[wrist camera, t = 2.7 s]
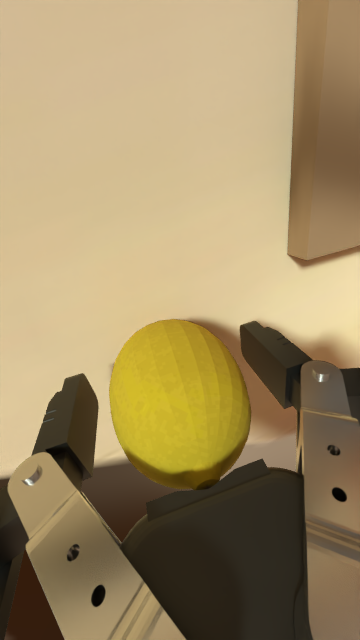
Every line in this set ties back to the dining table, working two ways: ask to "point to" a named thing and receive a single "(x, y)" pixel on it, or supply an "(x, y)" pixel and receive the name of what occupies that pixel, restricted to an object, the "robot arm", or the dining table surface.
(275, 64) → the dining table surface
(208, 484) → the lemon
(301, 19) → the serving board
